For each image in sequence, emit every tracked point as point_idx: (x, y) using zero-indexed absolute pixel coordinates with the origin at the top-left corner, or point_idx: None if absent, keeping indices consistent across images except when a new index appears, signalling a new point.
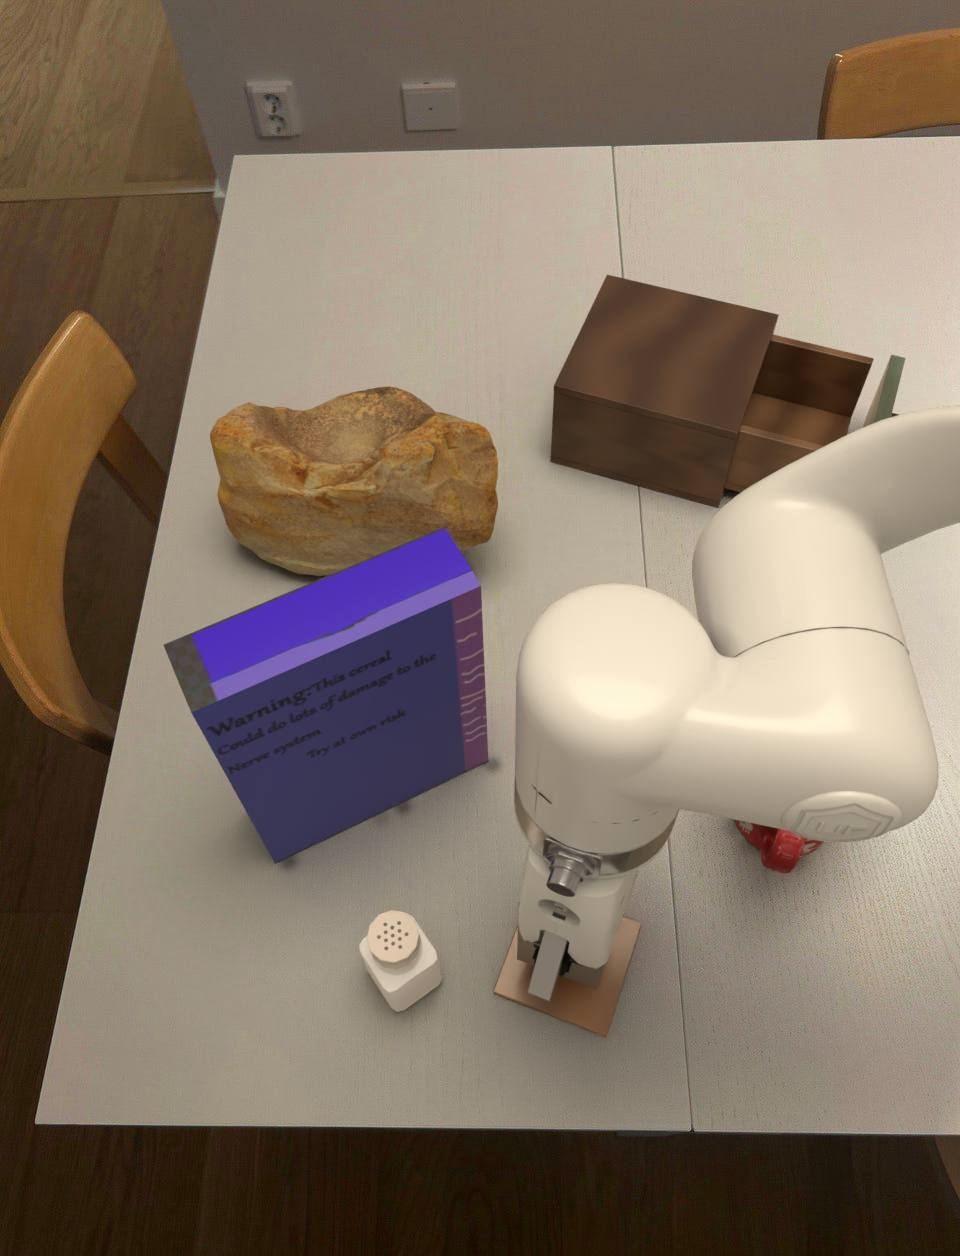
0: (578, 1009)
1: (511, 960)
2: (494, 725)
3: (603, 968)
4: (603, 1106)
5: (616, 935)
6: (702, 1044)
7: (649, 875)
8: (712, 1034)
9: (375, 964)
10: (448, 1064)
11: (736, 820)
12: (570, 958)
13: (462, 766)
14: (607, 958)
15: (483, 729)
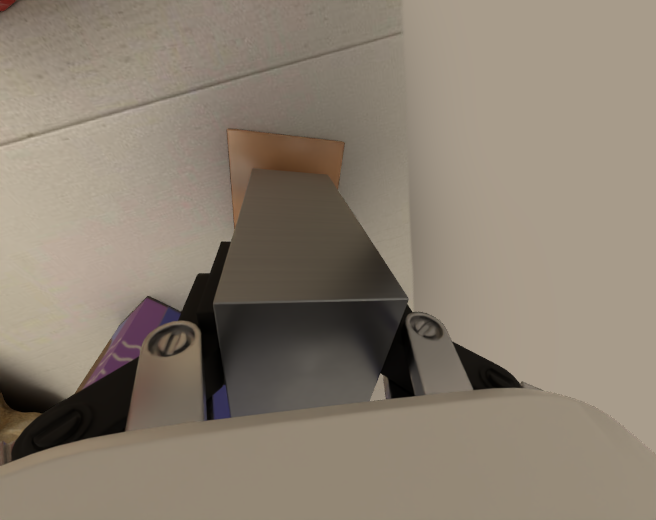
0: (327, 173)
1: None
2: (111, 302)
3: (348, 206)
4: (397, 131)
5: (520, 407)
6: (328, 27)
7: (168, 129)
8: (315, 14)
9: None
10: (380, 249)
11: (2, 4)
12: (409, 308)
13: (166, 316)
14: (636, 446)
15: (119, 350)
